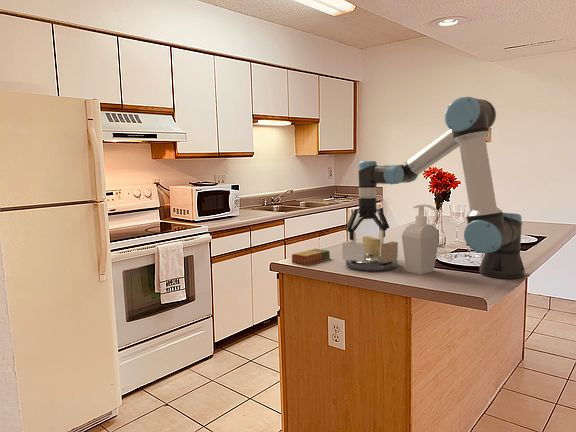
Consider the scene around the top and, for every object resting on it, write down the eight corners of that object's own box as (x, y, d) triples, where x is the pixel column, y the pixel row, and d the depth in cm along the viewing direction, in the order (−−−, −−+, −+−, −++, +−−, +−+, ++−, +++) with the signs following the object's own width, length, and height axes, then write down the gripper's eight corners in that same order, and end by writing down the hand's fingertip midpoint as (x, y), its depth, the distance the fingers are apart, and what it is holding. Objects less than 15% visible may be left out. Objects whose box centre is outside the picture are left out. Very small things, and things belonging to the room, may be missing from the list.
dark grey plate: (405, 270, 174) (405, 263, 173) (353, 272, 171) (353, 265, 171) (387, 258, 194) (387, 252, 194) (340, 260, 192) (340, 254, 192)
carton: (291, 263, 191) (291, 253, 190) (315, 257, 202) (315, 247, 202) (306, 266, 185) (306, 255, 185) (330, 259, 197) (329, 250, 196)
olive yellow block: (380, 257, 187) (380, 239, 186) (375, 258, 186) (375, 239, 185) (367, 253, 195) (367, 236, 194) (362, 254, 194) (362, 236, 193)
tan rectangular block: (391, 260, 182) (391, 241, 181) (397, 260, 180) (397, 242, 179) (380, 264, 175) (381, 244, 174) (386, 265, 173) (387, 245, 172)
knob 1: (365, 262, 179) (365, 243, 178) (364, 263, 177) (364, 244, 176) (344, 260, 183) (344, 241, 182) (342, 261, 181) (342, 242, 180)
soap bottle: (423, 276, 164) (425, 206, 161) (401, 271, 172) (402, 205, 169) (442, 271, 172) (444, 204, 168) (420, 266, 179) (421, 202, 176)
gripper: (388, 195, 198) (387, 242, 201) (337, 198, 190) (337, 247, 192) (397, 196, 191) (397, 245, 194) (345, 199, 183) (345, 250, 185)
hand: (367, 246), depth 193 cm, fingers open, 13 cm apart
